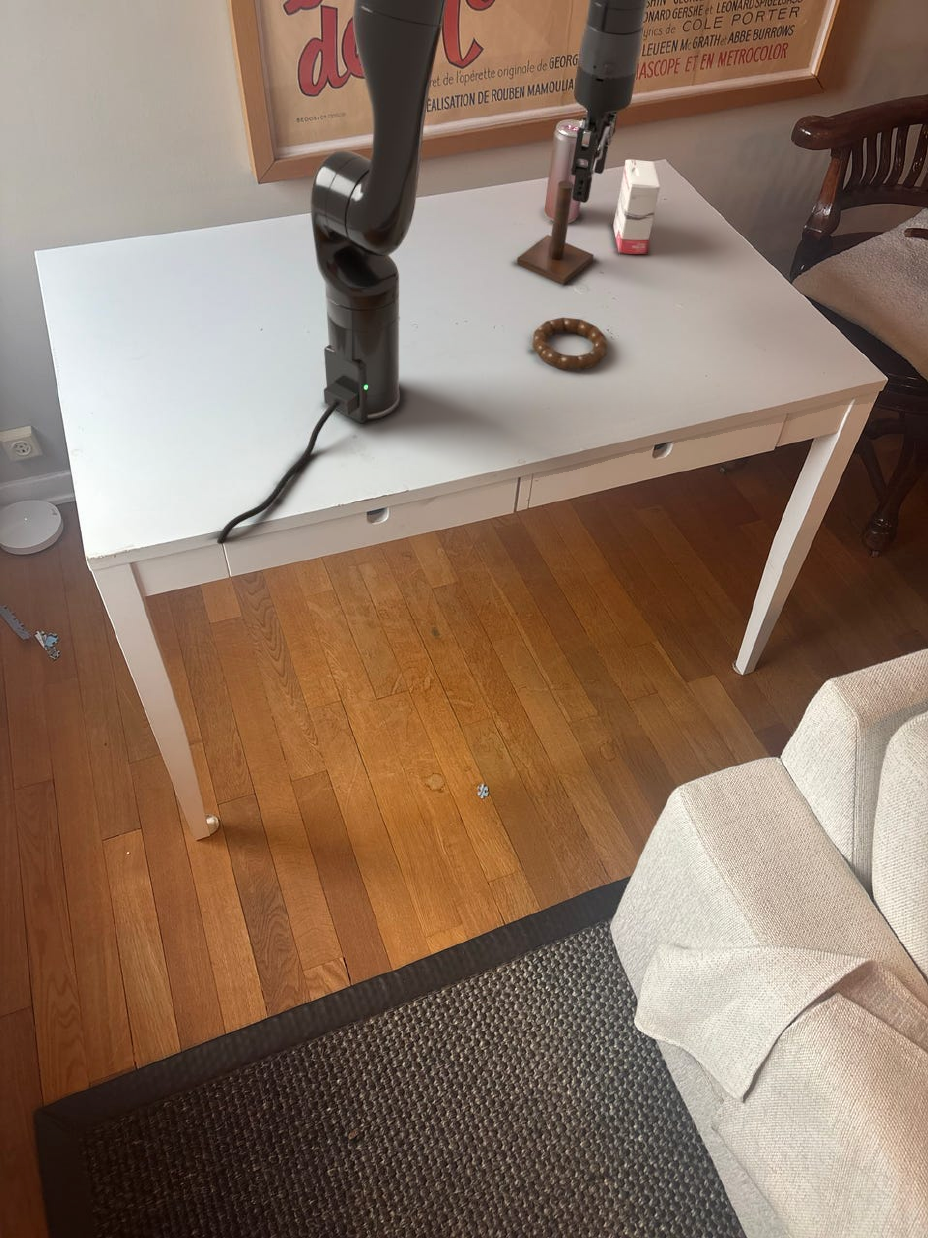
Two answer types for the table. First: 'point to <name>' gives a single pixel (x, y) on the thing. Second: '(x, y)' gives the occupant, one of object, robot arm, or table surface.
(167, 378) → the table surface
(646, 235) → the ink box
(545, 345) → the ring
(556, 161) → the beverage can
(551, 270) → the post
